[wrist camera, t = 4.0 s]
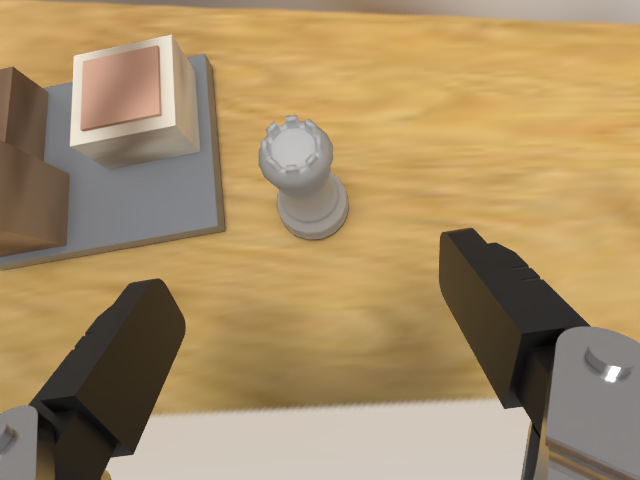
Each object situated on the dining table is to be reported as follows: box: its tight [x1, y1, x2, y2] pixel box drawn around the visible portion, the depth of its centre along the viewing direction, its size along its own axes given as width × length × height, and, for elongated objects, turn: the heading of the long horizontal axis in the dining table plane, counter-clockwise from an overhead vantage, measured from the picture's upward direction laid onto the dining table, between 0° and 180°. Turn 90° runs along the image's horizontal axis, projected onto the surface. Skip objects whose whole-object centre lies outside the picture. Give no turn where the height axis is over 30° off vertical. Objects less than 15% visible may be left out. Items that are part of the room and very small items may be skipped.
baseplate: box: [0, 54, 225, 270], centre depth 22 cm, size 16×13×1 cm
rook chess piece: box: [259, 115, 349, 240], centre depth 16 cm, size 4×4×8 cm
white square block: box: [70, 35, 200, 169], centre depth 20 cm, size 6×6×3 cm
